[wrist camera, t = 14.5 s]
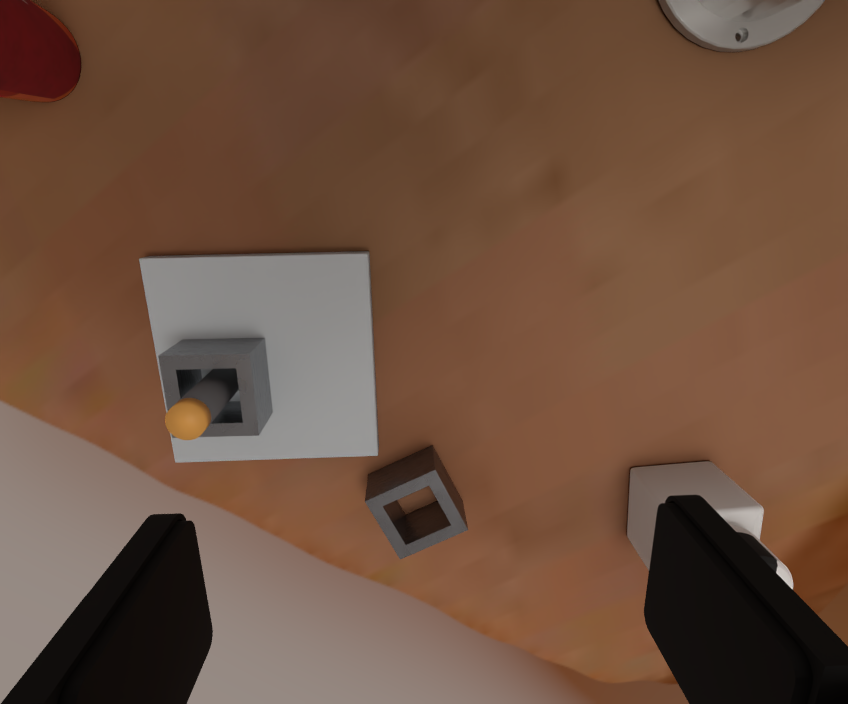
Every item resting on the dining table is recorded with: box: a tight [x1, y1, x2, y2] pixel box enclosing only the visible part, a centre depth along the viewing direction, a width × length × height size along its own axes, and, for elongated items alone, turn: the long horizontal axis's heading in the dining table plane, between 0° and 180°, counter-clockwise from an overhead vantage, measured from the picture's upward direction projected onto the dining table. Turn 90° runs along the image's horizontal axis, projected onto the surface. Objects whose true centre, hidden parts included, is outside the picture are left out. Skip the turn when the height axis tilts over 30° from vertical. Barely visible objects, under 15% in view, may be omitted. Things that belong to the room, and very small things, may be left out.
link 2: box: [365, 445, 468, 559], centre depth 43 cm, size 6×6×4 cm
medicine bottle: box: [627, 461, 793, 590], centre depth 40 cm, size 7×7×12 cm
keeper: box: [139, 251, 379, 462], centre depth 36 cm, size 16×16×10 cm
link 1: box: [158, 338, 273, 438], centre depth 37 cm, size 6×6×4 cm
